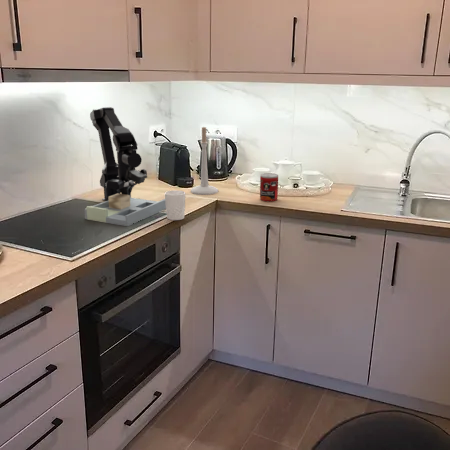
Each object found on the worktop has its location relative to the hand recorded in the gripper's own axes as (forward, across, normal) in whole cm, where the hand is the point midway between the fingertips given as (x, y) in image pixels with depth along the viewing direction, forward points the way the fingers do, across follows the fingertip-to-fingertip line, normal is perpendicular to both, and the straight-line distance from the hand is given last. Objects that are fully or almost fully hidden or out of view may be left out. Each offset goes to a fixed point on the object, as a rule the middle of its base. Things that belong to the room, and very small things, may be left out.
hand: (127, 201), depth 208 cm
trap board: (+3, -5, -4) cm, 8 cm away
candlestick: (+4, +40, -15) cm, 42 cm away
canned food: (+4, +39, -47) cm, 61 cm away
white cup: (+3, -3, -24) cm, 25 cm away
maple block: (+1, -5, 0) cm, 5 cm away
